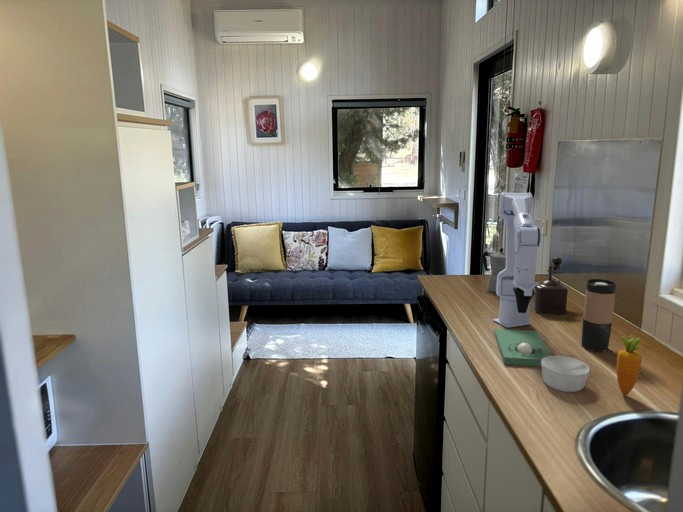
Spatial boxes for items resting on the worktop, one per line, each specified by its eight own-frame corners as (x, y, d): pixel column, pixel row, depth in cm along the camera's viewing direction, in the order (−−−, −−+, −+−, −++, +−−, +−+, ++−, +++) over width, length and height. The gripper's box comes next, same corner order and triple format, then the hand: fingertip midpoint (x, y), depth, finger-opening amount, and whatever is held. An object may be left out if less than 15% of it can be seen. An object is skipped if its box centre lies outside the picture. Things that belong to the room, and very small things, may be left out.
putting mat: (494, 334, 157) (494, 328, 156) (537, 337, 154) (537, 331, 154) (503, 363, 136) (504, 357, 135) (553, 367, 133) (554, 360, 133)
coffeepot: (519, 291, 204) (522, 248, 200) (508, 295, 198) (511, 252, 194) (485, 284, 215) (488, 243, 211) (474, 288, 208) (476, 246, 205)
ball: (528, 359, 137) (527, 360, 141) (535, 347, 137) (534, 348, 141) (515, 351, 139) (514, 352, 142) (522, 339, 139) (521, 340, 143)
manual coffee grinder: (568, 314, 175) (573, 265, 171) (535, 313, 177) (539, 264, 173) (558, 301, 190) (562, 256, 186) (528, 300, 192) (531, 255, 188)
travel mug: (606, 343, 149) (614, 280, 144) (611, 353, 142) (619, 286, 137) (578, 340, 151) (585, 278, 147) (581, 350, 144) (588, 284, 140)
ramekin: (584, 399, 117) (587, 378, 115) (535, 387, 122) (537, 367, 121) (590, 380, 126) (592, 361, 125) (543, 370, 132) (545, 352, 131)
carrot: (608, 391, 120) (615, 333, 117) (627, 390, 120) (634, 332, 117) (621, 401, 115) (628, 341, 112) (641, 400, 116) (649, 340, 112)
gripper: (545, 274, 136) (541, 321, 139) (534, 262, 150) (531, 305, 153) (518, 273, 137) (515, 320, 140) (510, 261, 151) (507, 304, 154)
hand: (521, 312), depth 146 cm, fingers closed
